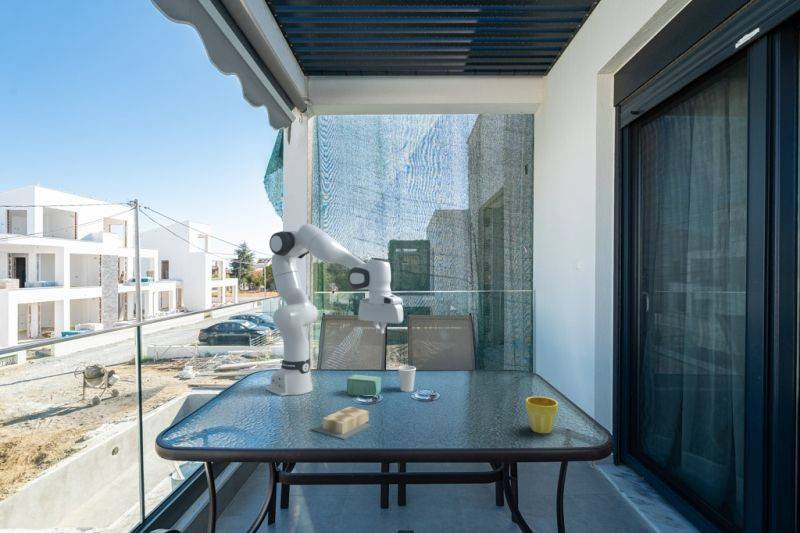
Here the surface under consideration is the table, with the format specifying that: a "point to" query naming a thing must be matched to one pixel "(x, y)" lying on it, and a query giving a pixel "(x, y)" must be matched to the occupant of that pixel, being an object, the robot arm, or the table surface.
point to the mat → (342, 436)
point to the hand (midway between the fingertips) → (380, 333)
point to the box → (363, 385)
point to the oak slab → (345, 420)
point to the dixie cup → (406, 377)
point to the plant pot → (541, 413)
